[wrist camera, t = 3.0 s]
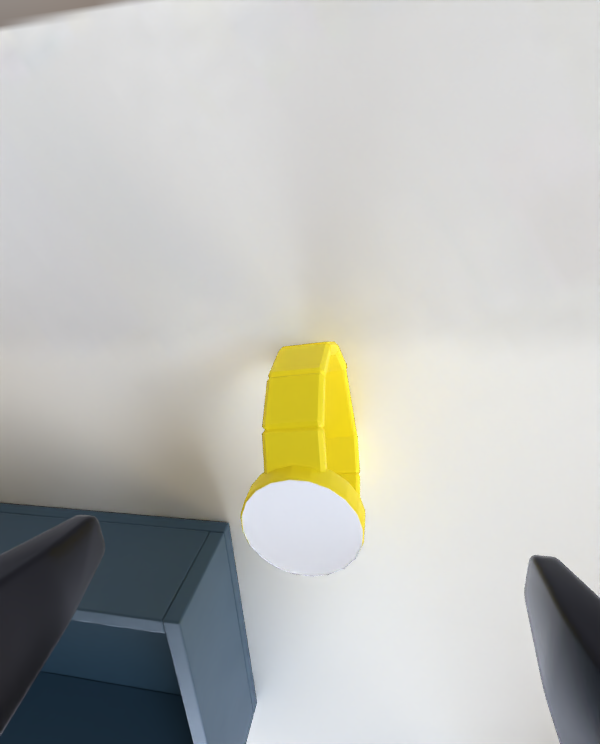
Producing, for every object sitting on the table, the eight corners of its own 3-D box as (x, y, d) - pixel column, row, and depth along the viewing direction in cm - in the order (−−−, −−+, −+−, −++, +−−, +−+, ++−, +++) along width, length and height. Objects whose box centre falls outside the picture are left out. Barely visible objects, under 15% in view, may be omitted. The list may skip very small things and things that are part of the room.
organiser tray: (229, 521, 18) (179, 623, 14) (257, 702, 22) (225, 822, 18) (-74, 496, 21) (-191, 572, 17) (0, 658, 25) (-78, 751, 21)
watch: (276, 324, 14) (205, 407, 9) (362, 313, 14) (342, 396, 8) (307, 480, 16) (265, 624, 11) (383, 477, 16) (378, 628, 10)
